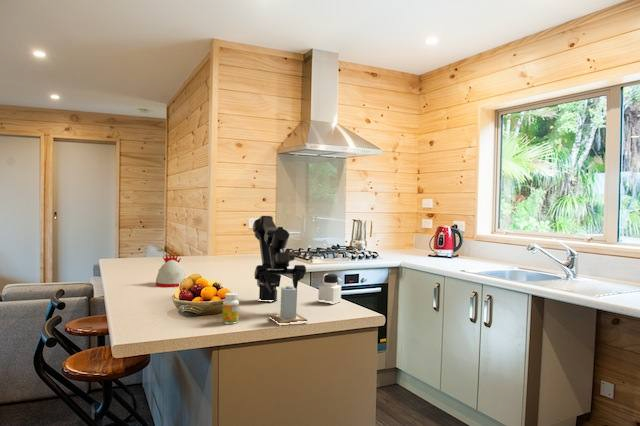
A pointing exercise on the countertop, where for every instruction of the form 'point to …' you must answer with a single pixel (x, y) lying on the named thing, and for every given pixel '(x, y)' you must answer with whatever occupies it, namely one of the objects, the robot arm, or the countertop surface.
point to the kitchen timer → (170, 273)
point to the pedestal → (281, 320)
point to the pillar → (288, 302)
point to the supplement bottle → (230, 308)
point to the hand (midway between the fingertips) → (283, 291)
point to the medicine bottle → (330, 288)
